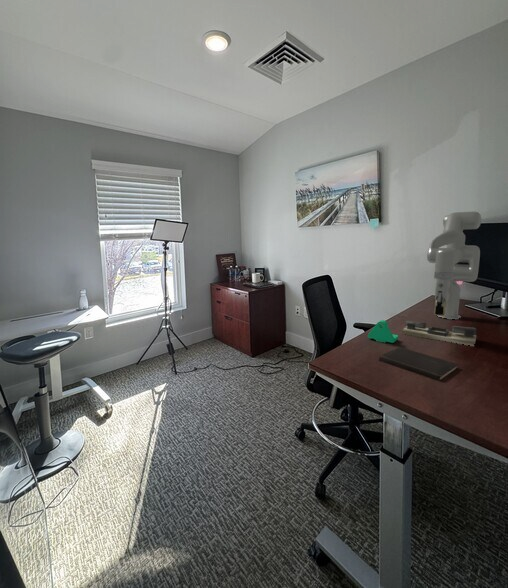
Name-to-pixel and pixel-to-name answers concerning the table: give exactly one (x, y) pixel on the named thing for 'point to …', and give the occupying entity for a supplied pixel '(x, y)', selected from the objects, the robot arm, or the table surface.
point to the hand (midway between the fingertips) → (439, 312)
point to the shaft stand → (441, 333)
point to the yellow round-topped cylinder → (443, 308)
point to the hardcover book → (419, 363)
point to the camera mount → (382, 333)
